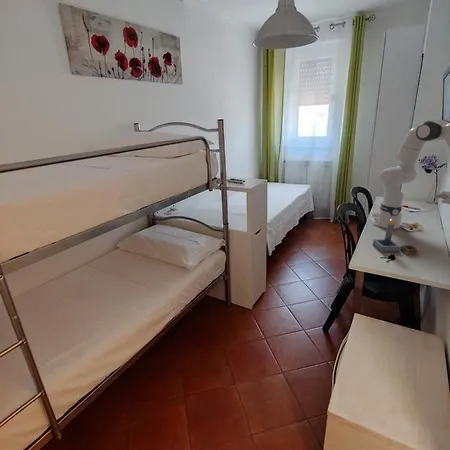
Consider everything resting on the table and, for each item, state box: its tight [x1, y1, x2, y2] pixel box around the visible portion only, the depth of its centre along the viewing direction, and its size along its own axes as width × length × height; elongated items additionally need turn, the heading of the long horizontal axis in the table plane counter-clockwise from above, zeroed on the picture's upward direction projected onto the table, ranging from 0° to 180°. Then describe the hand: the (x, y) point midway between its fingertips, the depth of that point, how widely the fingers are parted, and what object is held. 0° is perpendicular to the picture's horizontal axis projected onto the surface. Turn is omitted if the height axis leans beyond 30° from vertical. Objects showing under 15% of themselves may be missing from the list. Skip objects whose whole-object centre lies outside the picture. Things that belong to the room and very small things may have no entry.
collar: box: [400, 244, 420, 256], centre depth 165 cm, size 6×6×3 cm
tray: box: [372, 238, 401, 254], centre depth 169 cm, size 10×10×4 cm
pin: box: [383, 220, 395, 246], centre depth 167 cm, size 4×4×16 cm
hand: (437, 198), depth 156 cm, fingers open, 8 cm apart
